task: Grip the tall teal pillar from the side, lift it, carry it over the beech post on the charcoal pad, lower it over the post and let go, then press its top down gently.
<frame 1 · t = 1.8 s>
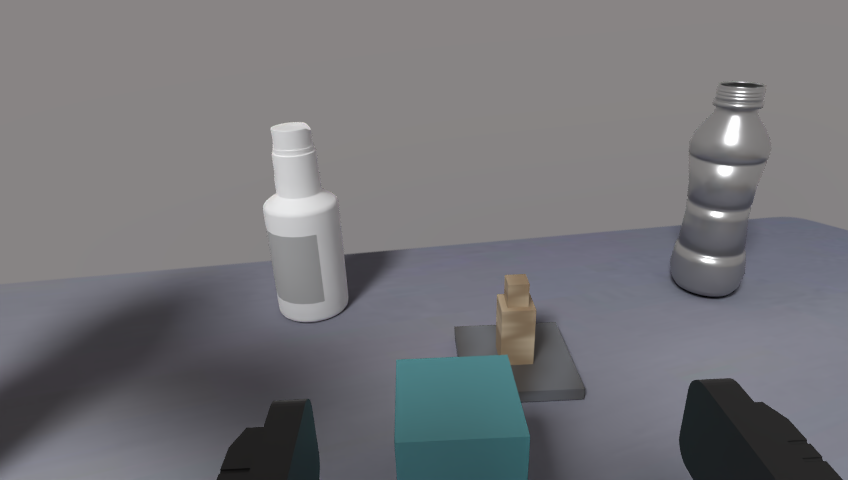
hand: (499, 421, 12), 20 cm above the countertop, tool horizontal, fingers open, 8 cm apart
post: (513, 364, 46), on the countertop
plastic bottle: (701, 289, 56), on the countertop
spray bottle: (314, 307, 56), on the countertop
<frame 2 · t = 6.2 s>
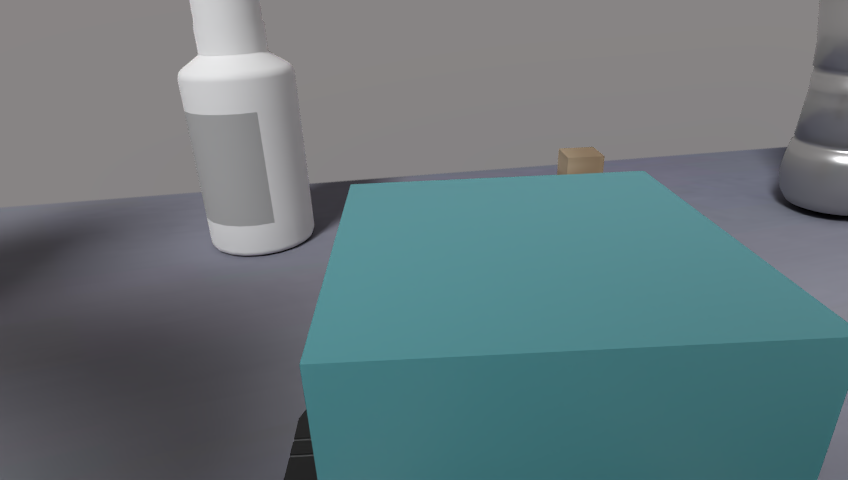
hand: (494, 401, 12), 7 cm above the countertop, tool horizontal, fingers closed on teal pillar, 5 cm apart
post: (569, 305, 28), on the countertop
plastic bottle: (826, 212, 39), on the countertop
spray bottle: (265, 239, 38), on the countertop
when the fingers open (8 cm above the countertop, at t = 11.5 s): teal pillar stays where it is, resting on post.
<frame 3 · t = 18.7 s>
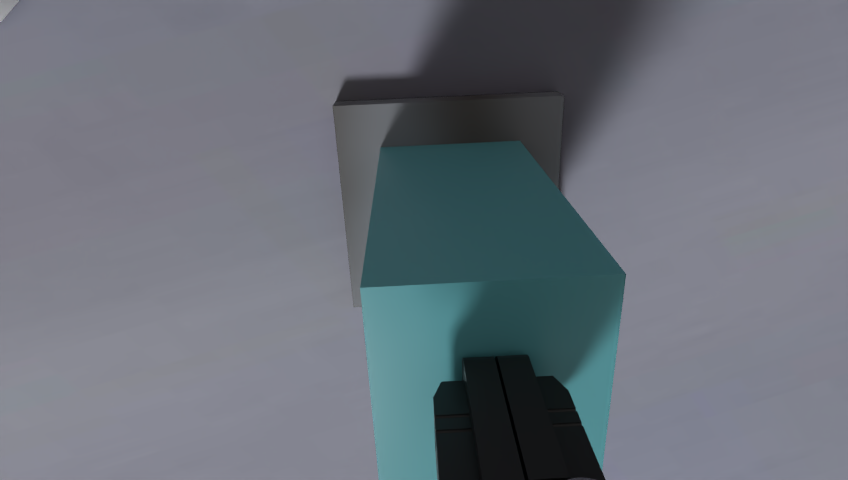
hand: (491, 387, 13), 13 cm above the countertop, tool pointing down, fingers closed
teal pillar: (451, 209, 23), point 1 cm above the countertop, touching gripper, post
post: (449, 201, 24), on the countertop
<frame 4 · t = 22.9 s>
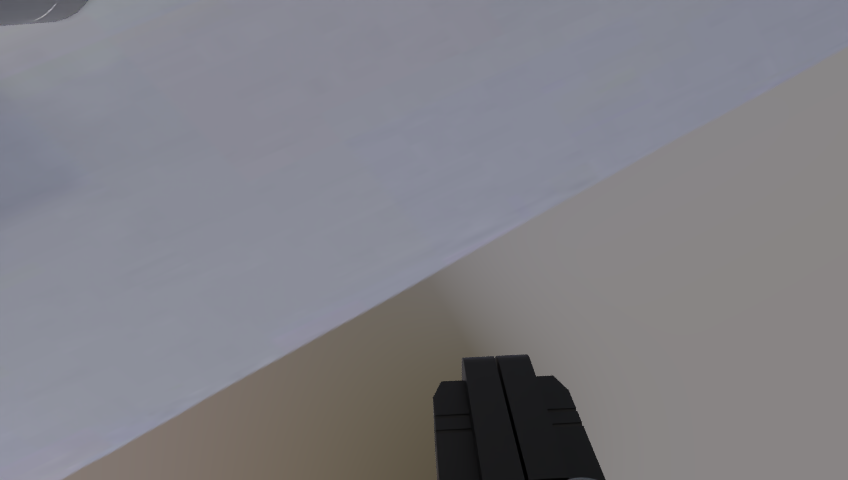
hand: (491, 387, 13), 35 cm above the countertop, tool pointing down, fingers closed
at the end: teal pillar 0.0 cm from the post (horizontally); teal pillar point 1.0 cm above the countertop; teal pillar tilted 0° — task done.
